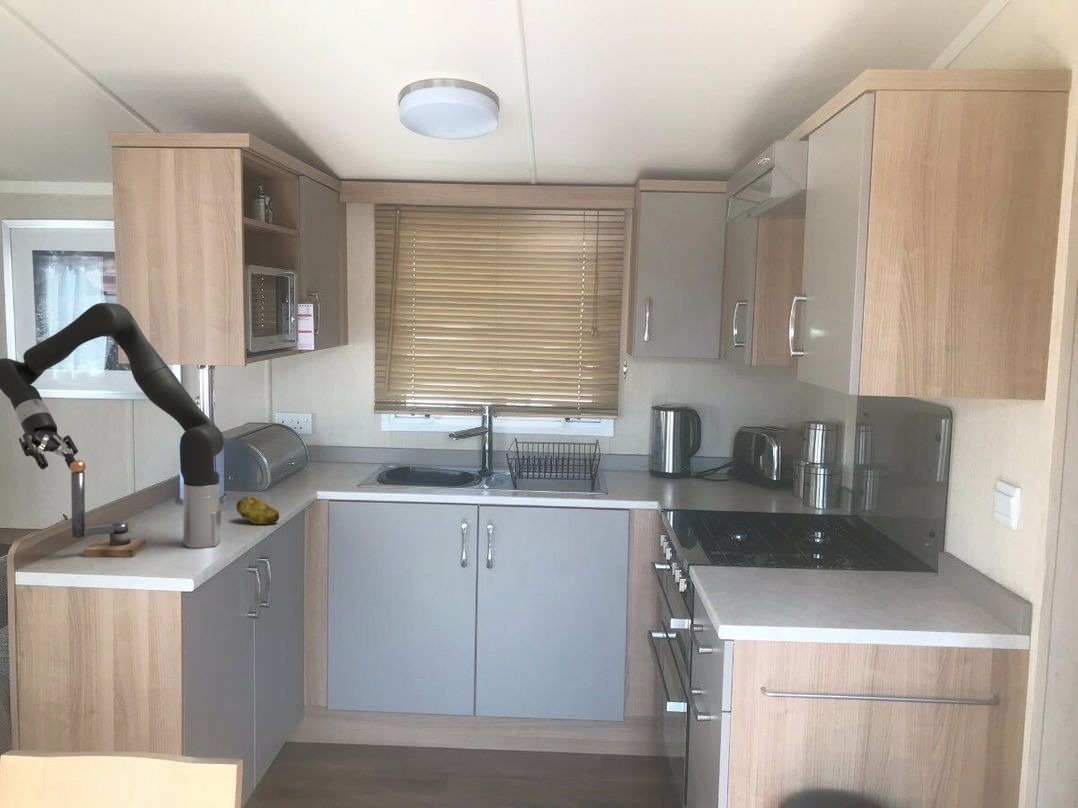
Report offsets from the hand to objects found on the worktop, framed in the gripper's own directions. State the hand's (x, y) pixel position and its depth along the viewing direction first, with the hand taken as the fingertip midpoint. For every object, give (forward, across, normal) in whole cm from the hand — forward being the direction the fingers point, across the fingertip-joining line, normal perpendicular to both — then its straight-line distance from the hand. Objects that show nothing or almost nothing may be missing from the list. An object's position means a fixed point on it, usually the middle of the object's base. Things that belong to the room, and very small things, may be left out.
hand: (59, 467), depth 219 cm
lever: (+21, +3, +1) cm, 21 cm away
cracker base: (+26, +7, +2) cm, 27 cm away
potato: (+28, +50, -10) cm, 58 cm away
